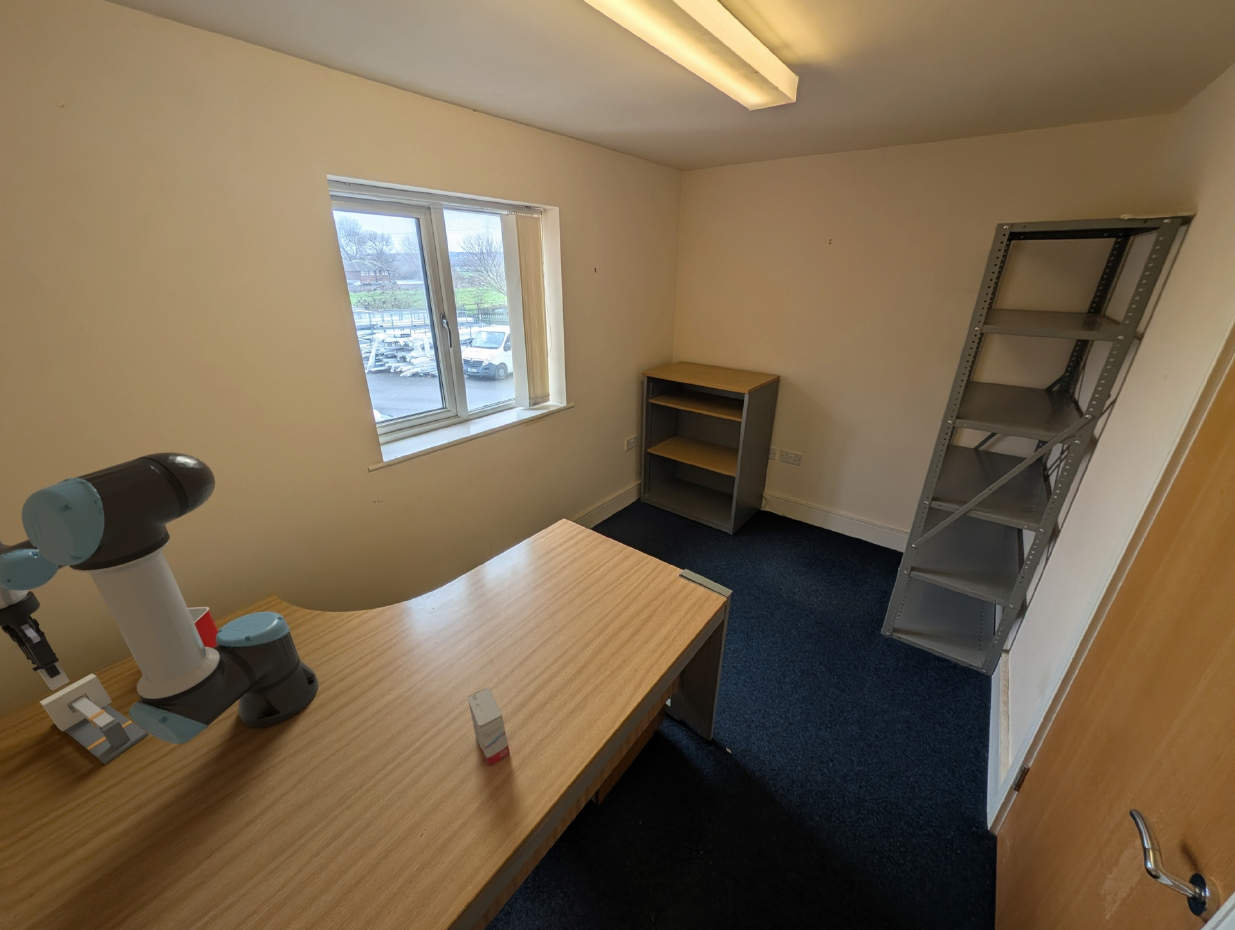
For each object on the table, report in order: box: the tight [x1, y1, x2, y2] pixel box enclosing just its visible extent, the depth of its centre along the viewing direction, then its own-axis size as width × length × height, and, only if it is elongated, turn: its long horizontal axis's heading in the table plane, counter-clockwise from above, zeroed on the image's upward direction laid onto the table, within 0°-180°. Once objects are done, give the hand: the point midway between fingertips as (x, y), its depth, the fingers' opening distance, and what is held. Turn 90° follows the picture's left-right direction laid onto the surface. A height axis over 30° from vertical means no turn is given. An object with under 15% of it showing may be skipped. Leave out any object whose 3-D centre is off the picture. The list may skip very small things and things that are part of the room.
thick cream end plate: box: [39, 673, 113, 732], centre depth 99 cm, size 2×8×8 cm, turn 156°
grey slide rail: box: [63, 695, 149, 765], centre depth 99 cm, size 23×7×7 cm, turn 66°
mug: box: [187, 606, 219, 648], centre depth 119 cm, size 12×8×11 cm
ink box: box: [467, 686, 510, 767], centre depth 94 cm, size 9×5×12 cm, turn 33°
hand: (60, 684), depth 101 cm, fingers closed
